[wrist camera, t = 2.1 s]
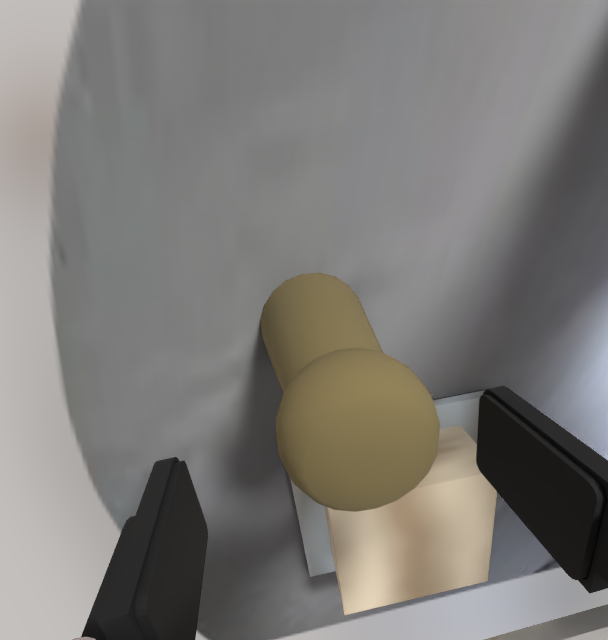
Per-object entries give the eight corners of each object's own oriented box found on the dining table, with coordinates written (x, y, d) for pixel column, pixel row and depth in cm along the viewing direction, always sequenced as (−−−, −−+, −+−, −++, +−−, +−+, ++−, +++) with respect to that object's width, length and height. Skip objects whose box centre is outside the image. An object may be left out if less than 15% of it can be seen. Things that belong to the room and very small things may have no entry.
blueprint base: (484, 390, 23) (536, 435, 19) (473, 531, 28) (512, 592, 24) (281, 430, 22) (286, 488, 18) (309, 569, 27) (318, 639, 23)
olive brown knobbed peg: (354, 371, 21) (445, 540, 11) (257, 368, 20) (256, 550, 10) (371, 276, 19) (503, 376, 9) (263, 268, 18) (271, 368, 8)
